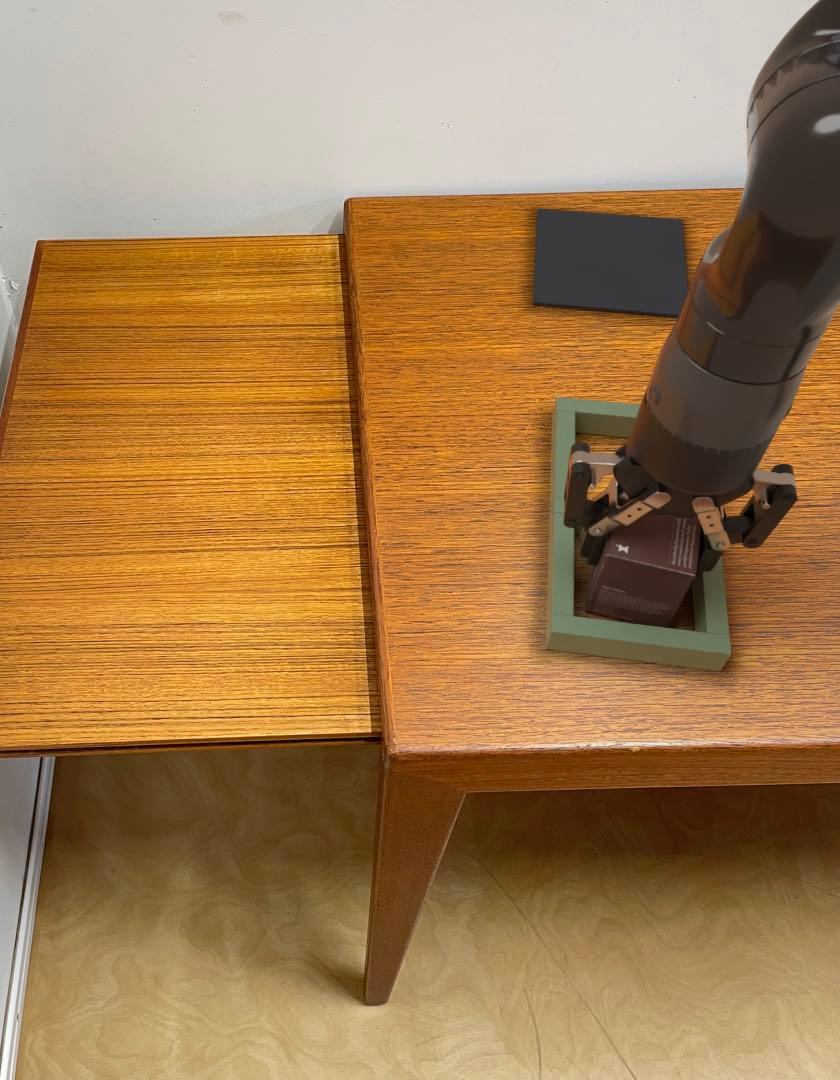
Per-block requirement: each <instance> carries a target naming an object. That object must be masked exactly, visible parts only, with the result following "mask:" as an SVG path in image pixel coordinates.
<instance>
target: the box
mask: <svg viewBox="0 0 840 1080" xmlns="http://www.w3.org/2000/svg"><path fill="white" fill-rule="evenodd" d="M701 529H702V526H701V524H700V521H699V519H698V516H694V518H693V519H685V518H679V517H676V516H672V515H650V514H645V515H643V516H642V517H640V518H639V519H637V520H636V521H634V522H633V523H631V524H630V525H628V526H624V525H622V524H620V525H619V526H617V527H616V528H614V529H613V530H612V531H610V532H609V533H608V540H607V542H606V545H605V547H604V550H603V553H602V555H601V558H600V560H599V563H598V565H597V566H596V565H591V566H592V567H591V570H590V575H589V580H588V581H589V582H588V586H587V587H588V588H587V594H586V598H585V604H584V610H585V611H586V612H588V613H593V614H597V615H600V616H604V617H608V618H609V617H610V618H612V619H613V618H614V619H618V620H622V621H625V622H629V623H632V624H640V625H648V626H656V627H664V628H670V625H671V623H672V622H673V619H674V617H675V615H676V613H677V612H678V610H679V607H680V606H681V604H682V602H683V600H684V598H685V596H686V594H687V592H688V590H689V588H690V586H691V585H692V580H693V579H694V577H695V575H696V571H697V564H698V556H699V548H700V539H701Z"/></svg>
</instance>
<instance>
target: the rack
mask: <svg viewBox="0 0 840 1080" xmlns="http://www.w3.org/2000/svg"><path fill="white" fill-rule="evenodd" d="M640 405H641V404H634V403H625V402H615V401H604V400H596V399H585V398H575V397H564V396H557V397H556V399H555V404H554V407H553V411H552V415H551V430H550V431H551V435H550V437H551V438H550V472H549V473H550V475H549V504H548V505H549V507H548V508H549V509H548V510H549V513H548V542H547V543H548V545H547V546H548V547H547V550H548V551H547V578H546V579H547V582H546V583H547V584H546V586H547V587H546V616H545V617H546V620H545V621H546V623H545V650H550V651H557V652H564V653H565V652H566V653H572V654H579V655H580V654H581V655H588V656H596V657H605V658H611V659H618V660H628V661H633V662H641V663H642V662H643V663H649V664H656V665H657V664H658V665H659V664H660V665H665V666H673V667H681V668H689V669H697V670H704V671H713V672H721V671H722V669H723V668H724V667H725V665H726V663H727V662H728V660H729V659H730V658H731V656H732V646H731V644H732V643H731V635H730V627H729V616H728V605H727V596H726V594H727V593H726V583H725V573H724V564H723V554H722V555H721V557H720V559H719V561H718V562H717V564H716V566H715V568H714V569H712V570H711V571H710V572H706V571H704V573H703V575H702V577H701V578H698V577H694V579H693V580H692V582H691V587H692V588H691V590H692V605H693V619H694V630H687V629H681V628H680V629H679V628H671V627H668V628H664V627H656V626H648V625H641V624H638V623H633V622H623V621H616V620H615V621H614V620H607V619H600V618H592V617H583V616H576V615H575V535H580V534H581V532H582V529H583V526H580V527H577V528H568V527H566V526H565V525H564V508H565V502H564V491H565V484H566V478H567V471H568V464H569V457H570V451H571V447H572V445H573V444H575V443H576V433H577V434H587V435H597V436H609V437H616V438H627V439H628V438H629V435H630V432H631V430H632V427H633V424H634V421H635V419H636V416H637V413H638V411H639V408H640Z"/></svg>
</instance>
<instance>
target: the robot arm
mask: <svg viewBox="0 0 840 1080" xmlns="http://www.w3.org/2000/svg"><path fill="white" fill-rule="evenodd" d="M745 113H746V116H745V118H746V119H745V122H746V123H745V125H746V157H747V158H746V177H745V183H744V185H743V186H744V187H743V190H742V195H741V198H740V201H739V205H738V209H737V210H736V215H735V216H734V219H733V222H732V225H729V226H727V227H726V228H725V229H723V230H722V231H721V232H719V233H718V234H717V235H716V236H715V237H714V238H713V240H712V241H711V242H710V243H709V244H708V246H707V248H706V249H705V251H704V253H703V255H702V256H701V258H700V259H699V262H698V264H697V267H696V269H695V272H694V274H693V276H692V279H691V281H690V284H689V285H688V291H687V294H686V297H685V299H684V302H683V305H682V307H681V310H680V313H679V316H678V318H676V321H675V323H674V325H673V327H672V329H671V331H670V332H669V334H668V335H667V338H666V339H665V341H664V343H663V344H662V346H661V349H660V352H659V354H658V357H657V359H656V362H655V364H654V367H653V370H652V372H651V375H650V378H649V381H648V384H647V386H646V389H645V392H644V395H643V397H642V400H641V402H640V404H639V405H640V408H639V411H638V413H637V416H636V419H635V421H634V424H633V427H632V430H631V432H630V435H629V438H627V441H626V442H625V443H624V444H623V445H621V446H620V447H619V448H617V449H616V451H615V452H614V453H604V452H603V453H602V452H601V453H600V452H591V446H590V445H589V444H588V443H586V442H583V441H580V442H575V444H573V445H572V447H571V451H570V457H569V464H568V471H567V478H566V484H565V491H564V502H565V508H564V525H565V526H566V527H568V528H577V527H580V526H583V529H582V532H581V534H579V555H580V558H586V565H590V566H593V565H596V566H597V565H598V563H599V560H600V558H601V555H602V553H603V550H604V547H605V545H606V542H607V540H608V533H609V532H610V531H612V530H613V529H614V528H616V527H617V526H619V525H620V524H622V525H624V526H628V525H630V524H631V523H633V522H634V521H636V520H637V519H639V518H640V517H642V516H643V515H645V514H650V515H672V516H676V517H679V518H685V519H693V518H694V516H698V519H699V521H700V524H701V526H702V529H701V539H700V548H699V556H698V564H697V571H696V575H695V577H698V578H701V577H702V575H703V573H704V571H706V572H710V571H711V570H712V569H714V568H715V566H716V564H717V562H718V561H719V559H720V557H721V555H722V556H723V554H724V552H725V551H727V550H729V549H730V548H731V546H732V545H736V544H737V545H738V544H742V546H743V547H744V548H746V549H757V548H760V547H761V546H763V544H764V543H765V541H767V539H768V538H769V537H770V536H771V534H772V533H773V531H774V530H775V529H776V528H777V527H778V525H779V524H780V523H781V522H782V520H783V519H784V518H785V517H786V516H787V514H788V513H789V512H790V510H791V509H792V508H793V507H794V505H795V504H796V503H797V502H798V499H799V497H798V491H797V485H796V477H795V473H794V467H793V465H792V464H789V463H779V464H776V465H774V466H773V467H772V468H771V470H770V471H769V470H763V469H758V467H759V465H760V463H761V461H762V459H763V458H764V456H765V454H766V453H767V451H768V448H769V446H770V445H771V443H772V442H773V440H774V437H775V436H776V434H777V432H778V430H779V428H780V427H781V425H782V422H783V421H784V419H786V418H787V416H788V415H789V414H790V412H791V410H792V408H793V404H794V401H795V399H796V397H797V395H798V393H799V389H800V387H801V384H802V382H803V378H804V376H805V371H806V369H807V367H808V364H809V362H810V361H811V358H812V356H813V355H814V353H815V351H816V349H817V347H818V346H819V344H820V342H821V340H822V339H823V336H824V335H825V332H826V331H827V329H828V327H829V325H830V323H831V321H832V320H833V318H834V316H835V314H836V311H837V309H838V306H839V305H840V0H817V1H816V2H815V3H814V4H813V5H812V6H811V7H810V8H809V9H808V10H807V11H806V12H804V14H803V15H802V16H801V17H800V18H799V19H798V20H797V21H795V23H794V24H793V25H792V26H791V27H790V28H789V30H788V31H787V32H786V33H785V34H784V36H783V37H782V38H781V40H780V41H779V42H778V43H777V45H776V46H775V47H774V49H772V52H771V53H770V54H769V56H768V57H767V59H766V61H765V62H764V64H763V65H762V67H761V68H760V70H759V72H758V73H757V76H756V78H755V80H754V82H753V84H752V87H751V89H750V92H749V97H748V100H747V105H746V112H745ZM607 475H612V476H613V477H612V478H611V479H610V481H609V482H608V485H607V487H606V488H605V489H603V490H602V491H601V492H599V493H598V494H597V495H596V496H594V497H592V498H591V499H589V498H588V493H589V491H590V490H591V491H593V490H595V489H596V488H597V484H599V483H600V482H601V481H602V479H603V478H604V477H605V476H607ZM751 491H753V494H752V495H751V497H750V498H749V500H748V501H747V503H746V504H745V505H744V506H743V508H742V509H741V510H740V512H739V515H732V516H731V515H730V516H729V515H728V512H727V509H726V506H725V505H727V504H729V503H731V502H733V501H735V500H737V499H739V498H741V497H743V496H745V495H747V494H749V493H750V492H751Z"/></svg>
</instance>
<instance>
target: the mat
mask: <svg viewBox="0 0 840 1080" xmlns="http://www.w3.org/2000/svg"><path fill="white" fill-rule="evenodd" d="M684 238H685V237H684V228H683V219H681V218H669V217H656V216H643V215H632V214H631V215H630V214H629V215H628V214H616V213H605V212H604V213H603V212H591V211H577V210H565V209H551V208H550V209H549V208H537V209H536V225H535V247H534V248H535V249H534V267H533V268H534V271H533V291H532V293H533V294H532V306H538V307H539V306H540V307H551V308H561V309H563V308H564V309H573V310H585V311H597V312H606V313H607V312H608V313H618V314H630V315H641V316H655V317H665V318H675V319H678V316H679V313H680V310H681V307H682V305H683V302H684V299H685V297H686V294H687V291H688V289H689V283H688V274H687V273H688V271H687V261H686V251H685V239H684Z"/></svg>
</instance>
